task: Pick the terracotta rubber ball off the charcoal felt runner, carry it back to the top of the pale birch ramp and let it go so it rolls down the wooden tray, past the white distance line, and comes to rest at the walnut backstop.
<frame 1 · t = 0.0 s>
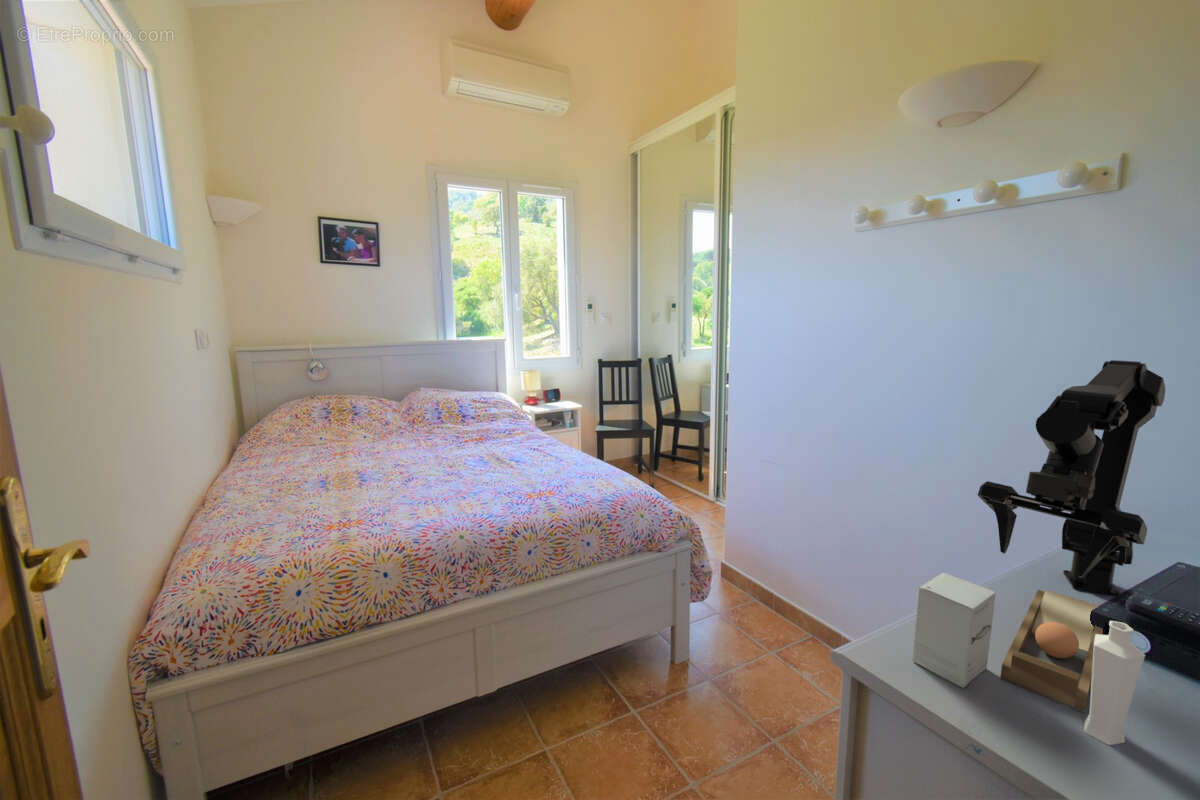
hand: (1039, 564, 78), 15 cm above the cabinet, tool tilted 35°, fingers open, 9 cm apart
supplement box: (949, 666, 79), on the cabinet
wooden tray: (1056, 649, 82), on the cabinet
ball: (1056, 639, 79), point 3 cm above the cabinet, touching wooden tray
perfume bottle: (1102, 735, 66), on the cabinet
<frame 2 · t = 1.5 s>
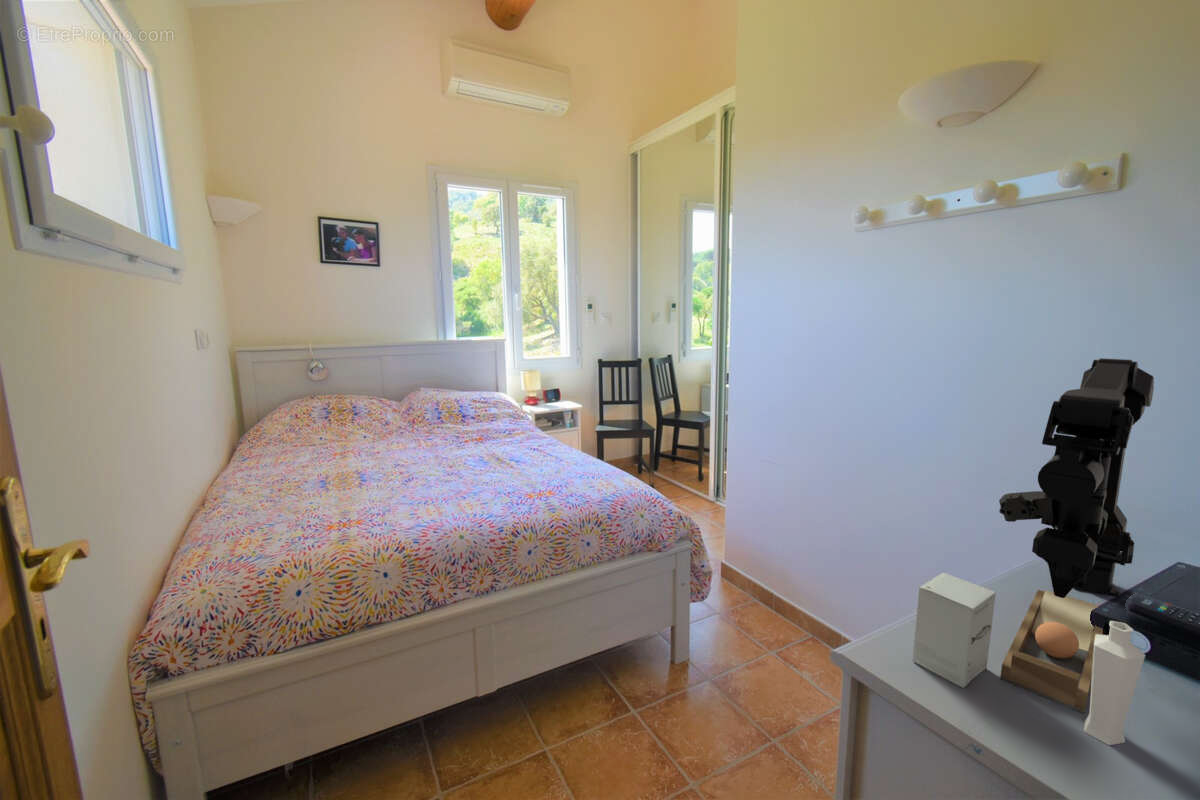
hand: (1064, 584, 78), 12 cm above the cabinet, tool pointing down, fingers open, 9 cm apart
nothing on the cabinet moved.
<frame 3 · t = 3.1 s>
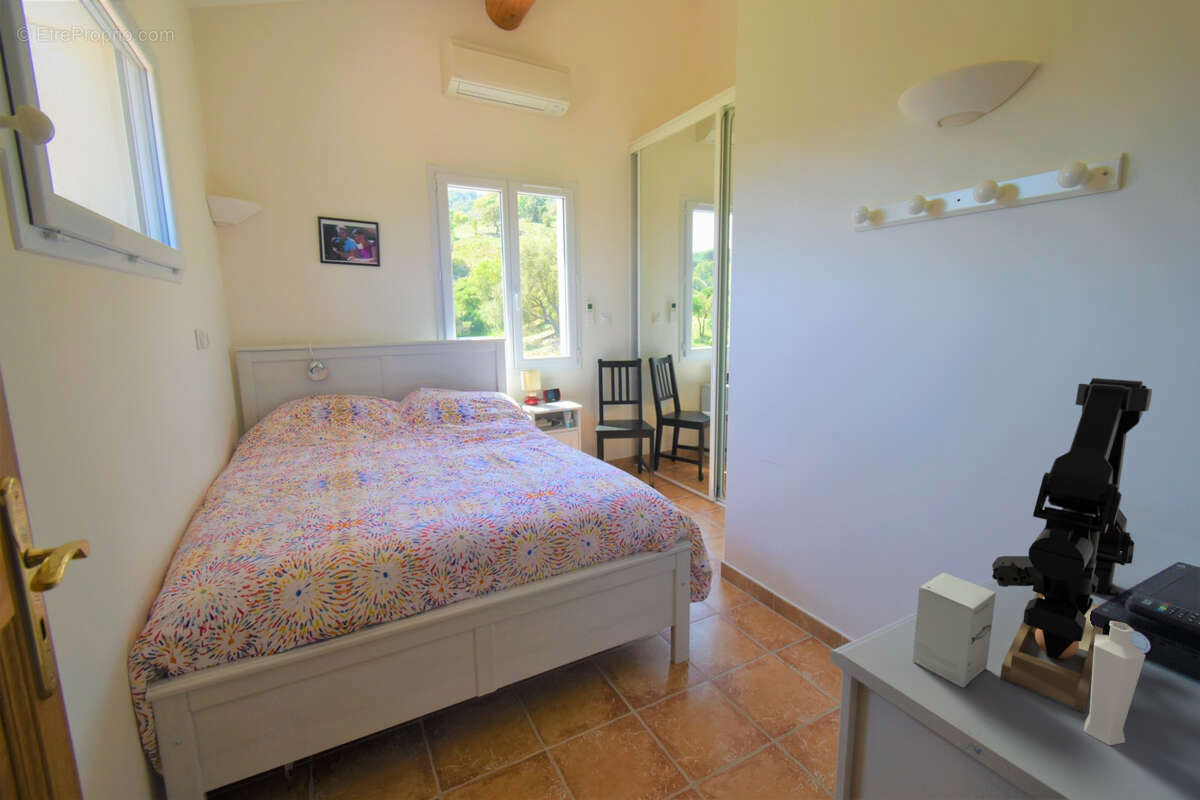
hand: (1055, 648, 80), 1 cm above the cabinet, tool pointing down, fingers closed on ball, 5 cm apart
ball: (1056, 639, 79), point 3 cm above the cabinet, touching gripper, wooden tray
everything else where it was.
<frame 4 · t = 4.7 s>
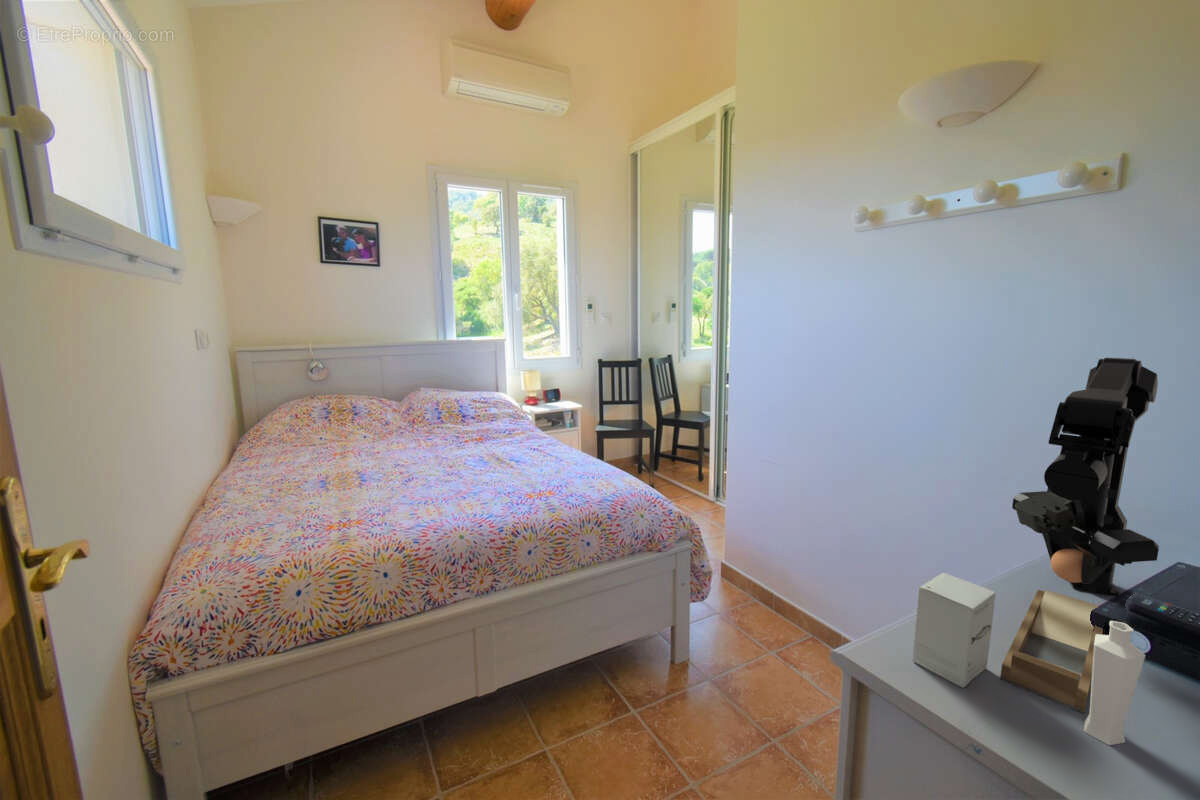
hand: (1070, 574, 82), 11 cm above the cabinet, tool pointing down, fingers closed on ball, 5 cm apart
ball: (1071, 565, 82), point 12 cm above the cabinet, touching gripper
everything else where it was.
when the fingers open (5 cm above the cabinet, at t = 6.6 s): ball drops 4 cm and tips over, resting on wooden tray.
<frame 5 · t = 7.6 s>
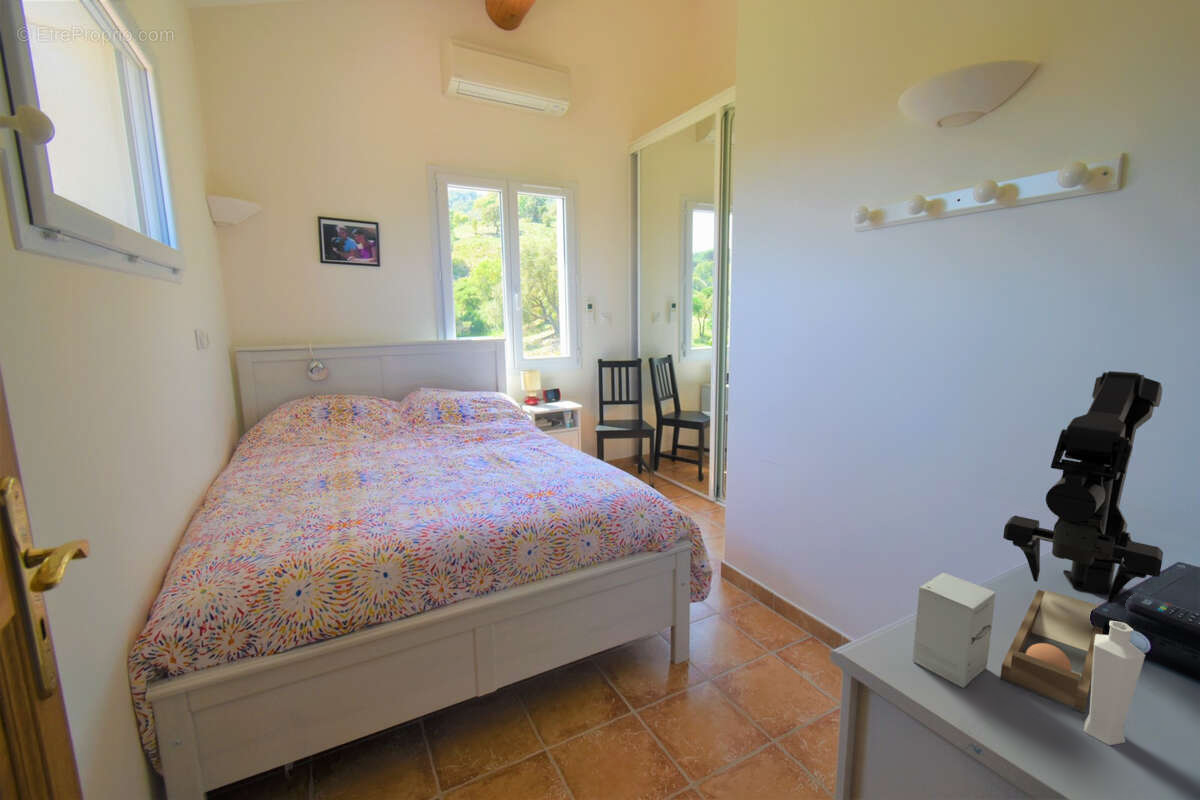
hand: (1071, 590, 88), 5 cm above the cabinet, tool pointing down, fingers open, 9 cm apart
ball: (1047, 662, 75), point 3 cm above the cabinet, tilted 123°, touching wooden tray
everything else where it was.
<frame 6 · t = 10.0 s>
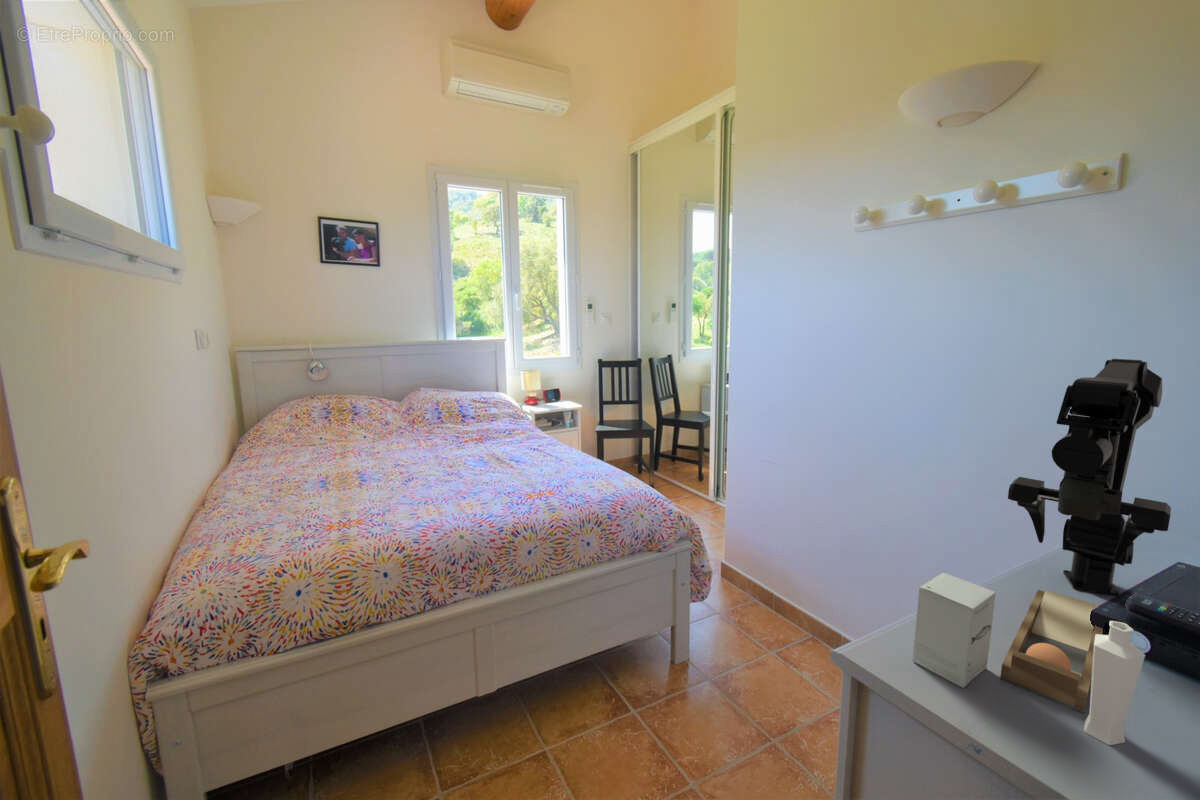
hand: (1077, 550, 86), 12 cm above the cabinet, tool pointing down, fingers open, 9 cm apart
nothing on the cabinet moved.
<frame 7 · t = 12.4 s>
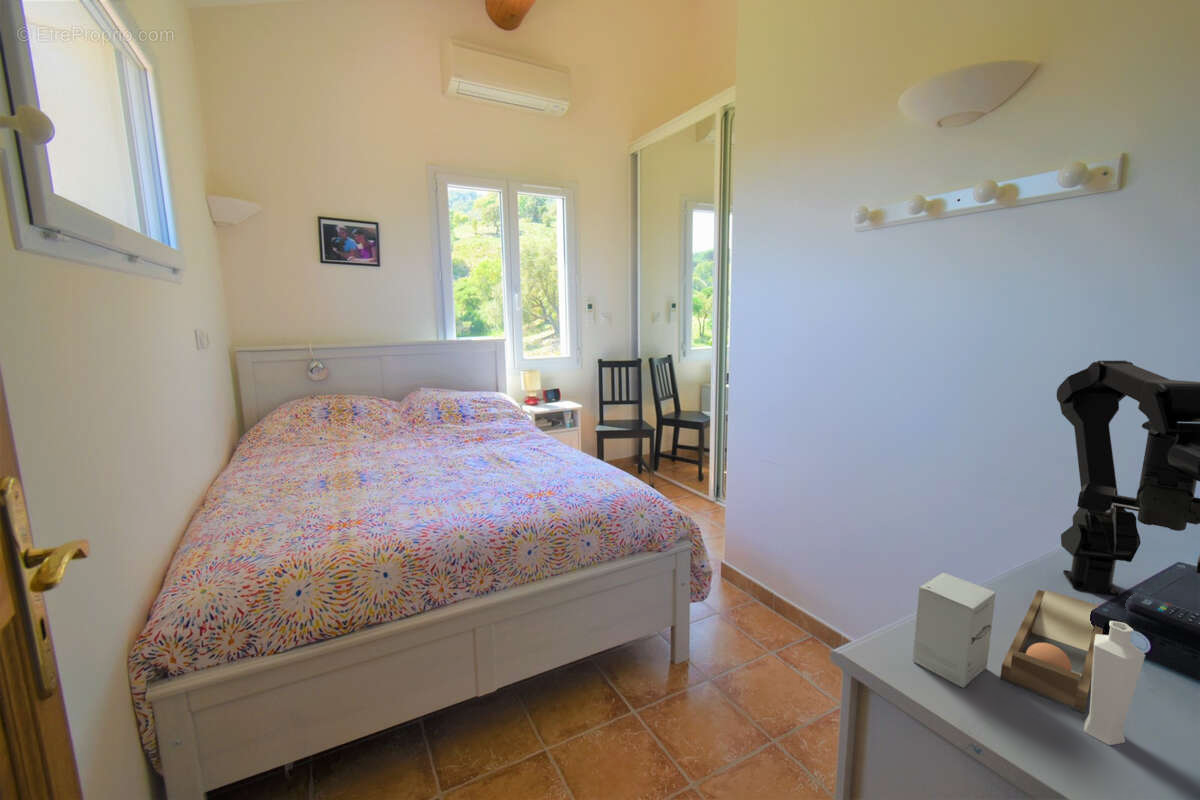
hand: (1153, 561, 82), 12 cm above the cabinet, tool pointing down, fingers open, 9 cm apart
nothing on the cabinet moved.
at the end: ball 1.1 cm from the target spot, point 2.9 cm above the cabinet; the gripper is holding nothing; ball moved 6.9 cm from its start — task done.
